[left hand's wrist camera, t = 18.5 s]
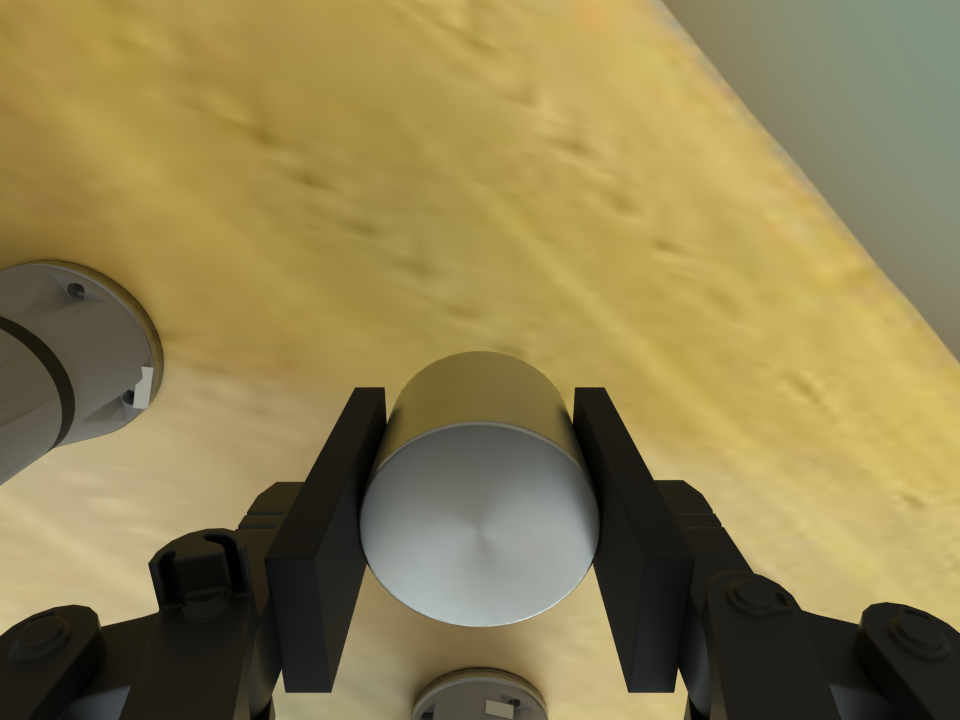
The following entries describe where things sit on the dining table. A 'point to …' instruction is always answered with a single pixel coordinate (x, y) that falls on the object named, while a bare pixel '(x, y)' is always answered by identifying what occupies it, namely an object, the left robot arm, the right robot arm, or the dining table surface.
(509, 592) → the canister
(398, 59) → the dining table surface
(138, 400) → the right robot arm
